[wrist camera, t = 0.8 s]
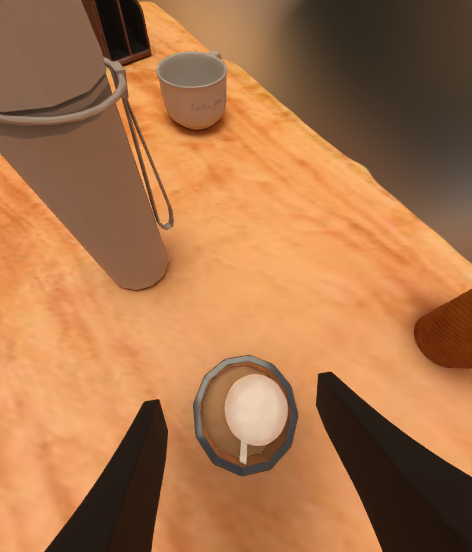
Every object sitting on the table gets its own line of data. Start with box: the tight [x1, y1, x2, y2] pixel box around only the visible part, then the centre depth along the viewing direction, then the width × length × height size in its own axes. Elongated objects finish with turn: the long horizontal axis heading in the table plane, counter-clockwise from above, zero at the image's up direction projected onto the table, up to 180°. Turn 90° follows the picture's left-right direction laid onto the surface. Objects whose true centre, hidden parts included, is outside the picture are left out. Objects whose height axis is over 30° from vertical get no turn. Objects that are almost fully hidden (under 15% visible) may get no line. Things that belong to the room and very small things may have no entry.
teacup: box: [156, 50, 227, 130], centre depth 41 cm, size 14×11×8 cm
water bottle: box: [0, 0, 174, 290], centre depth 20 cm, size 9×8×25 cm
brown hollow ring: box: [193, 355, 298, 476], centre depth 23 cm, size 9×9×3 cm
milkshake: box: [225, 374, 288, 465], centre depth 20 cm, size 4×5×10 cm
